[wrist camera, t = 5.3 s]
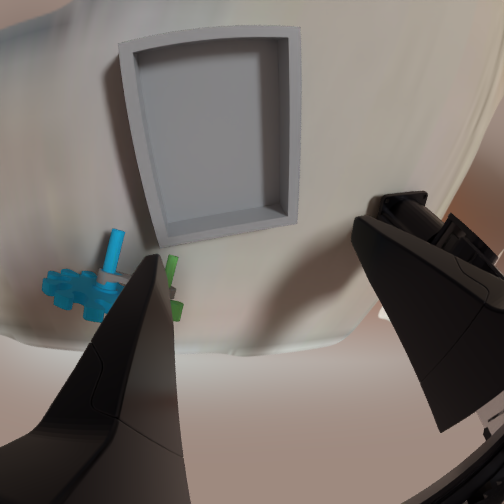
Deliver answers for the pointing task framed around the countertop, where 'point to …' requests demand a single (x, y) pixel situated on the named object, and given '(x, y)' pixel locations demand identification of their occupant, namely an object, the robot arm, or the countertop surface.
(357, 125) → the countertop surface
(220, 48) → the tray
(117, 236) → the gear
